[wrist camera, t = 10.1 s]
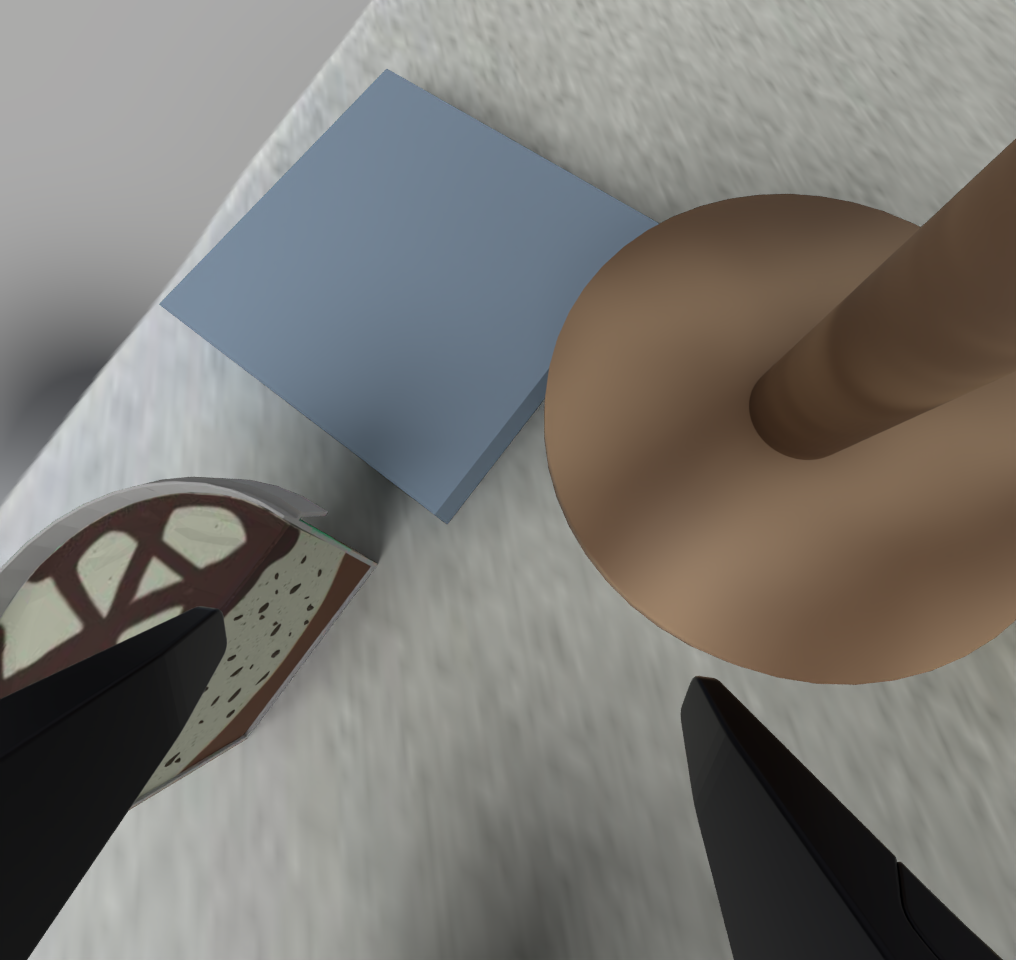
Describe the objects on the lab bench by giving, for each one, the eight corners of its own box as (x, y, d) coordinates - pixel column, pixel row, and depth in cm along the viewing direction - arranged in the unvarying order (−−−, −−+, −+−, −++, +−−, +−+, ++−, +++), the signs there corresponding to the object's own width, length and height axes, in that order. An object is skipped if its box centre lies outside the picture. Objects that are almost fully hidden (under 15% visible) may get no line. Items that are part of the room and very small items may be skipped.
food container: (301, 466, 24) (143, 382, 14) (397, 538, 23) (297, 500, 13) (128, 680, 22) (-190, 751, 12) (223, 769, 21) (-43, 923, 11)
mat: (646, 266, 25) (661, 224, 23) (447, 524, 23) (434, 514, 20) (401, 122, 28) (386, 68, 26) (201, 336, 26) (159, 304, 23)
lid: (1154, 489, 15) (2274, 308, 5) (746, 789, 14) (1242, 1256, 4) (809, 149, 19) (1114, -337, 9) (457, 365, 17) (359, 76, 8)
